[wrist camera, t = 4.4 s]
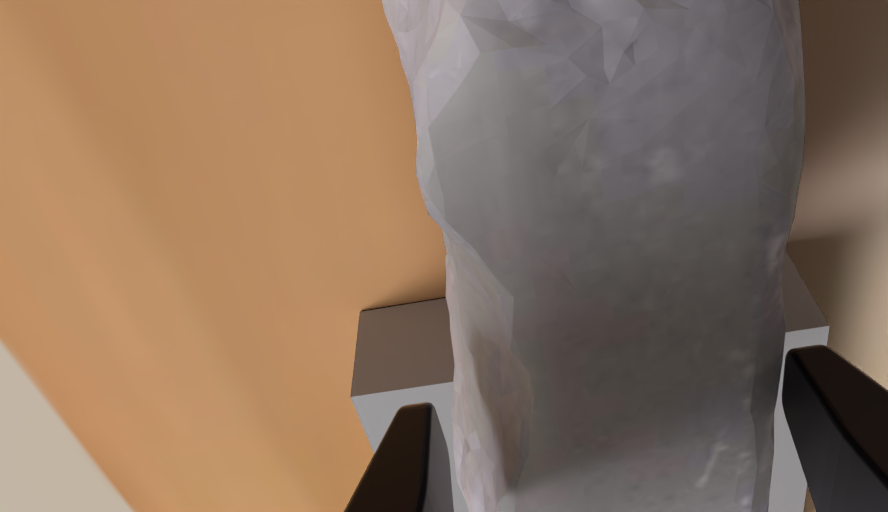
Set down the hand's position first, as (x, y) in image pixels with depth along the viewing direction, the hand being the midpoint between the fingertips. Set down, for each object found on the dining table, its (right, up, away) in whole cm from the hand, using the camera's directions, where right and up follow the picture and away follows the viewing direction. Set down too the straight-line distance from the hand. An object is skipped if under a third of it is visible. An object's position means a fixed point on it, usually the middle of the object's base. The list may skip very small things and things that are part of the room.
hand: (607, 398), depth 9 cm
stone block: (0, +6, +7) cm, 9 cm away
